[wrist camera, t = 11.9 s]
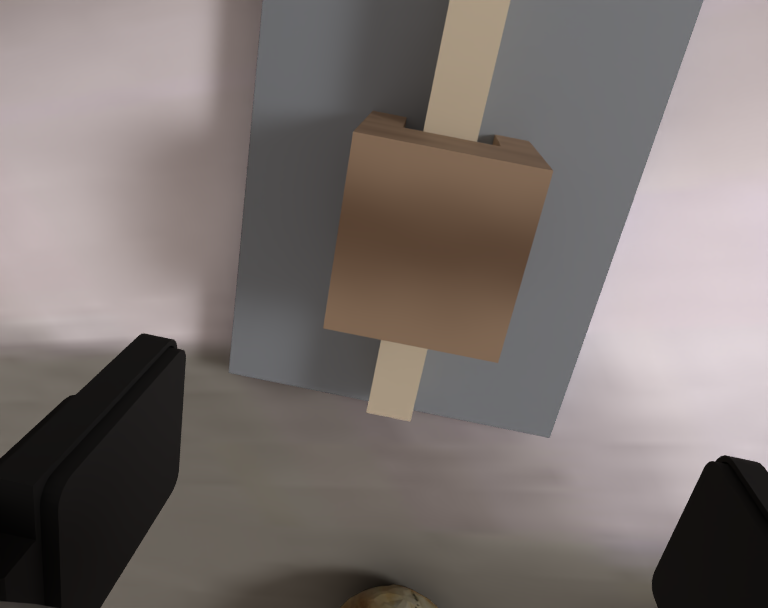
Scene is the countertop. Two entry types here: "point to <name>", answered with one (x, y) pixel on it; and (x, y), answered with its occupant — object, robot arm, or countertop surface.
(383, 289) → the saddle block
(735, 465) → the robot arm
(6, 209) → the countertop surface
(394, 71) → the cleat board
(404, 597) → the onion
